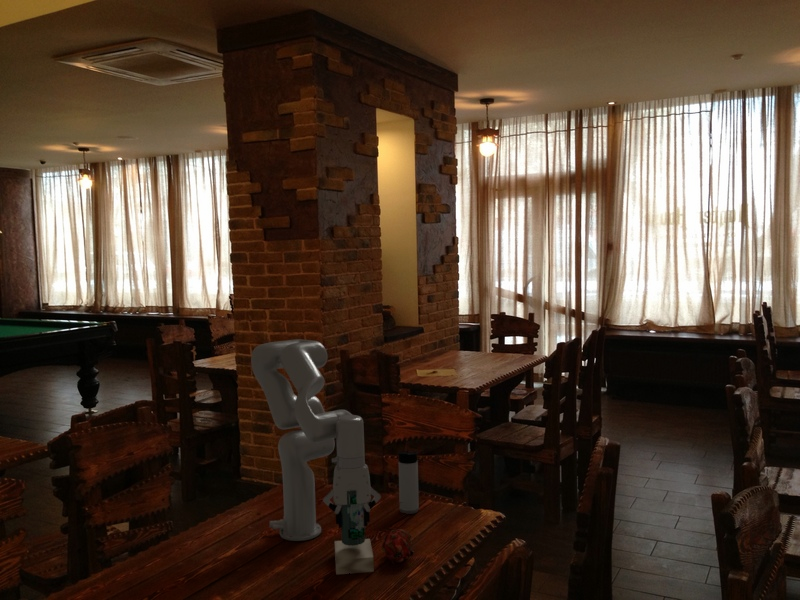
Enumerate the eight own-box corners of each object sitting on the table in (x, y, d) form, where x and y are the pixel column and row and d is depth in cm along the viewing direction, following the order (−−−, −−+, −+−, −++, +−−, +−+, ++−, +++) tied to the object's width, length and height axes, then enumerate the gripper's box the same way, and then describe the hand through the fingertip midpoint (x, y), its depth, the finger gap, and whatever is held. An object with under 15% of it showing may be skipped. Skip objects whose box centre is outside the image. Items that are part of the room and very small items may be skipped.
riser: (336, 574, 185) (335, 560, 185) (335, 554, 197) (334, 541, 197) (373, 571, 186) (373, 557, 186) (370, 552, 198) (369, 538, 198)
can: (356, 547, 187) (354, 492, 186) (337, 542, 190) (335, 489, 189) (368, 538, 192) (367, 485, 191) (351, 534, 195) (349, 482, 194)
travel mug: (396, 513, 227) (394, 453, 225) (403, 506, 233) (402, 447, 231) (414, 515, 224) (413, 454, 223) (421, 508, 231) (420, 449, 229)
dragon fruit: (400, 553, 200) (401, 579, 189) (376, 538, 199) (375, 563, 188) (417, 531, 199) (419, 556, 187) (393, 516, 198) (393, 540, 186)
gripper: (318, 467, 185) (321, 533, 186) (383, 463, 187) (385, 528, 188) (318, 459, 192) (320, 522, 194) (381, 455, 194) (383, 518, 196)
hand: (352, 524), depth 191 cm, fingers closed on can, 6 cm apart
